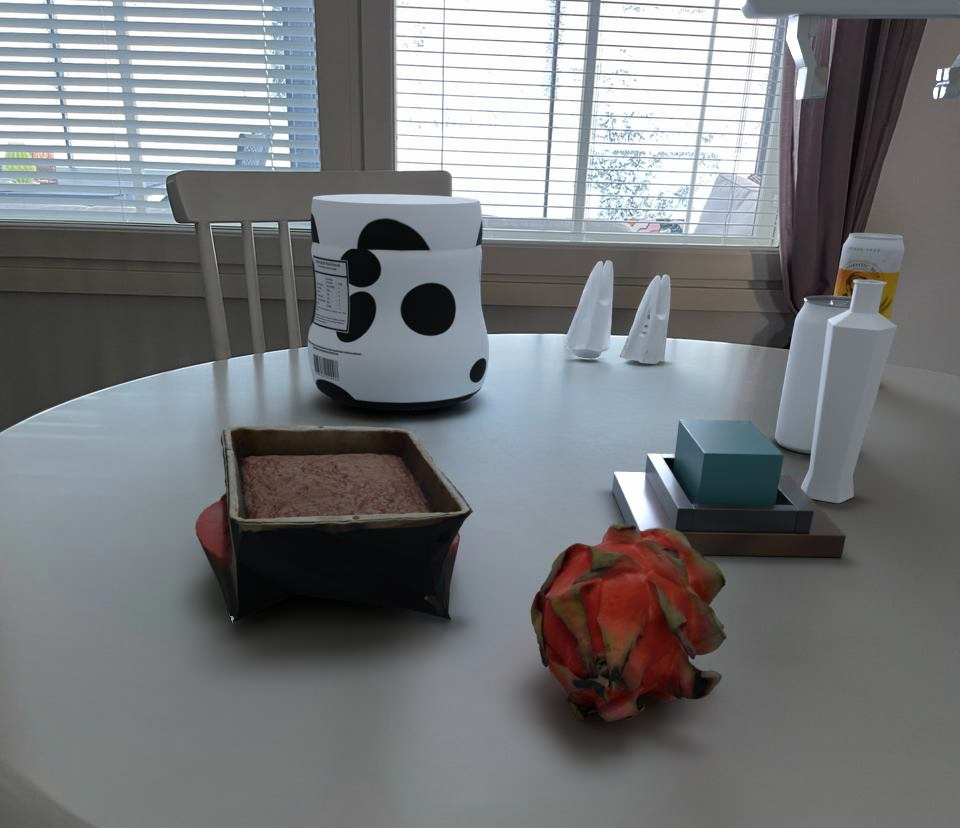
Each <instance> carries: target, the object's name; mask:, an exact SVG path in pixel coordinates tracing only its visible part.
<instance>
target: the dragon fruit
mask: <svg viewBox="0 0 960 828" xmlns="http://www.w3.org/2000/svg"><path fill="white" fill-rule="evenodd" d="M636 528H637V527H635V526H634V525H626V523H625V524H623V523H613V524H611V525H609V527H608V528H607V531H606V532H605V533H604V535H603V537H602V541H601V543H598V544H595V545H588V544H585V543H581V542H576V543H573V544H571V545H569V546H568V547H567V548H565V549H564V550H563V551H561V552H560V553H559V554H558V556H557V557H556V558H555V559H554V561H553V562H552V565H551V570H550V572H549V573H548V575H547V577H546V579H545V581H544V582H543V584H541V586H540V589H539V590H538V591H537V592H536V594H535V595H534V597H533V601H532V603H531V606H530V620H531V625H532V627H533V631H534V633H535V635H536V641H537V644H538V650H539V655H540V659H541V664H542V665H543V666H544V668H548V669H549V671H550V672H551V674H552V675H553V677H555V678H556V680H557V681H558V682H559V684H560V686H561V687H562V688H563V690H564V691H565V692H566V693H567V694H568V695H567V697H566V698H567V699H566V700H567V703H568V704H569V705H570V707H571V710H572V712H573V713H574V714H575V718H576V719H578V720H580V721H582V723H585V724H587V719H588V714H592V713H598V715H599V717H600V718H602V719H603V720H604V721H606V722H607V723H611V722H614V721H617V720H618V722H617V723H619V722H621V721H623V720H629V721H631V720H633V719H635V717H636V716H637V715H638V716H640V715H641V712H642V711H644V709H645V706H646V705H647V703H642V704H640V706H639V703H637V699H638V697H639V696H642V695H644V694H645V695H646V696H644V697H648V698H650V699H651V700H653V701H654V702H656V703H657V704H666V703H669V702H672V701H675V700H676V699H678V700H682V699H688V700H701V699H703V698H706V697H708V696H709V695H710V694H711V693H712V691H713V690H714V688H715V687H716V686H718V685H719V683H720V682H721V680H722V676H723V675H722V674H721V673H719V672H717V671H715V670H702V669H699V668H698V667H696V666H695V665H694V664H693V663H692V662H691V661H690V659H691V660H695V659H696V656H705V655H708V654H711V653H713V652H715V651H717V650H718V649H720V647H721V646H722V644H723V643H724V642H725V640H726V639H727V634H726V633H725V630H724V628H725V625H724V624H723V623H722V622H721V621H720V619H719V618H718V617H717V615H716V612H715V610H714V608H712V606H710V605H711V604H712V602H713V600H715V598H716V597H717V596H718V595H719V593H720V592H721V591H722V589H723V588H724V587H725V586H726V582H727V580H726V578H725V575H724V573H723V571H722V570H721V568H720V567H719V566H718V565H717V564H716V563H715V562H714V561H711V560H710V559H706V558H705V557H704V555H702V554H701V553H700V552H698V551H696V550H695V549H693V548H692V547H691V545H690V543H689V541H688V540H687V538H686V536H685V535H683V534H682V533H680V532H679V531H677V530H676V529H666V528H650V529H647V530H644V531H641V532H640V533H639V532H638V531H637V530H636ZM621 719H622V720H621Z"/></svg>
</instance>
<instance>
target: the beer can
mask: <svg viewBox="0 0 960 828" xmlns="http://www.w3.org/2000/svg"><path fill="white" fill-rule="evenodd" d="M905 249H906V247H905V245H904V235H903V236H902V235H899V234H891V233H876V232H851V233H849V235H848V237H847V239H846V240H845V242H844V243H843V245H842V250H841V255H840V259H839V265H838V271H837V276H836V279H835V280H836V281H835V286H834V291H833V296H845V297H852V295H853V290H854V285H855V284H854V282H853V280H876V281H882V282H887V284H886V285H885V286H884V288H883V292H882V297H881V302H880V306H879V311H878V313H880V314H881V315H882V316H884V317H885V318H887V319H888V320H889V321H890V317H891V313H892V309H893V304H894V300H895V295H896V290H897V287H898V286H897V285H898V281H899V277H900V273H901V266H902V264H903V258H904V254H905Z"/></svg>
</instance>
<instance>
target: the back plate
mask: <svg viewBox="0 0 960 828" xmlns="http://www.w3.org/2000/svg"><path fill="white" fill-rule="evenodd" d="M674 458H675V453H647V454H646V459H645V460H646V461H645V470H644V472H643V471H642V472H639V471H637V472H636V471H635V472H632V471H614V472H613V477H612V478H613V480H612V493H613V495H614V498H615V501H616V503H617V506H618V508H619V510H620V513H621V515H622V518H623V521H624V523H625V525H634V526H635V527H637V528H636V530H637V531H638V532H639V533H640V532H641V531H644V530H647V529H650V528H666V529H676V530H677V531H679V532H680V533H682V534H683V535H685V536H686V538H687V540H688V541H689V543H690V545H691V547H692V548H693V549H695V550H696V551H698V552H700V553H701V554H702V555H703V556H747V557H748V556H751V557H752V556H753V557H754V556H755V557H760V556H761V557H804V558H805V557H809V558H810V557H813V558H842V556H843V552H844V548H845V542H846V540H847V539H846V538H847V535H846V534H845V533H844V532H843V531H842V529H840V528H839V527H838V525H836V523H835V522H834V521H833V520H832V519H831V518H830V517H829V516H828V515H827V514H826V513H825V512H824V511H823V510H822V508H821V507H820V506H819V505H818V504H817V503H816V502H815V501H814V499H811V498H810V497H809V496H808V495H807V494H806V493H805V492H804V491H803V490H802V489H801V486H800V485H799V484H798V483H797V482H796V481H795V480H794V479H793V478H792V476H790V475H789V474H780V480H779V485H778V491H777V497H776V502H775V505H748V504H694V503H692V504H691V503H690V502H689V500H688V498H687V497H686V495H685V493H684V492H683V490H682V489H681V487H680V485H679V484H678V482H677V480H676V479H675V477H674V475H673V466H674Z"/></svg>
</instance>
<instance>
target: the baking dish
mask: <svg viewBox="0 0 960 828" xmlns="http://www.w3.org/2000/svg"><path fill="white" fill-rule="evenodd" d="M220 445H221V447H222V460H223V470H224V486H225V493H224V494H222V495H221V497H220V498H219V500H217V501H215V502H213V503H211V504H210V505H209V506H207V507H206V508H204V509H203V510H202V512H201V513H200V514H199V516H198V517H197V519H196V522H195V527H194V528H195V535H196V537H197V539H198V541H199V543H200V546H201V548H202V550H203V553H204V554H205V557H206V559H207V562H208V563H209V566H210V567H211V569H212V572H213V574H214V577H215V578H216V580H217V583H218V585H219V587H220V590H221V595H222V596H223V600H224V603H225V606H226V610H227V613H228V612H229V613H228V615H229V614H230V616H233V617H234V620H233V622H234V623H236V622H237V621H240V620H242V619H244V618H246V617H248V616H250V615H253V614H255V613H258V612H259V611H261V610H264V609H266V608H268V607H270V606H273V605H274V604H277V603H279V602H281V601H283V600H286V599H287V598H290V597H292V596H295V595H299V596H307V597H314V598H322V599H329V600H338V601H344V602H350V603H351V602H352V603H358V604H359V603H360V604H367V605H368V604H369V605H375V606H380V607H381V606H382V607H390V608H398V609H405V610H408V611H412V612H417V613H422V614H424V615H425V614H426V615H429V616H430V615H431V616H434V617H438V618H442V619H447V620H452V618H451V615H450V613H449V612H450V591H451V583H452V578H453V574H454V568H455V564H456V561H457V555H458V550H459V545H460V540H461V535H460V530H461V528H462V527H463V525H464V523H465V522H466V520H467V519H468V517H470V515H471V514H473V512H474V511H473V509H472V507H470V504H469V503H468V501H467V500H466V498H465V497H464V496H463V494H462V493H461V492H460V491H459V490H458V488H457V487H456V486H455V485H454V484H453V482H452V481H451V479H450V478H448V477H447V475H445V473H444V472H443V471H442V470H440V468H439V467H438V466H437V464H436V462H435V461H434V459H433V457H432V456H431V455H430V454H429V452H428V451H427V450H426V448H425V447H424V446H423V445H422V443H421V441H420V440H419V438H418V437H417V436H416V435H415V434H414V433H413V432H411V431H409V430H408V429H402V428H398V427H396V428H393V427H390V426H389V427H388V426H387V427H376V426H375V427H374V426H364V425H363V426H355V425H354V426H352V425H333V426H332V425H323V426H322V425H312V424H311V425H310V424H309V425H307V424H304V425H303V424H299V425H298V424H297V425H296V424H295V425H294V424H293V425H261V424H260V425H240V426H239V425H238V426H233V427H228V428H227V429H223V430H222V431H221V435H220ZM230 616H229V619H230V622H231V623H232V621H231V617H230Z"/></svg>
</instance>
